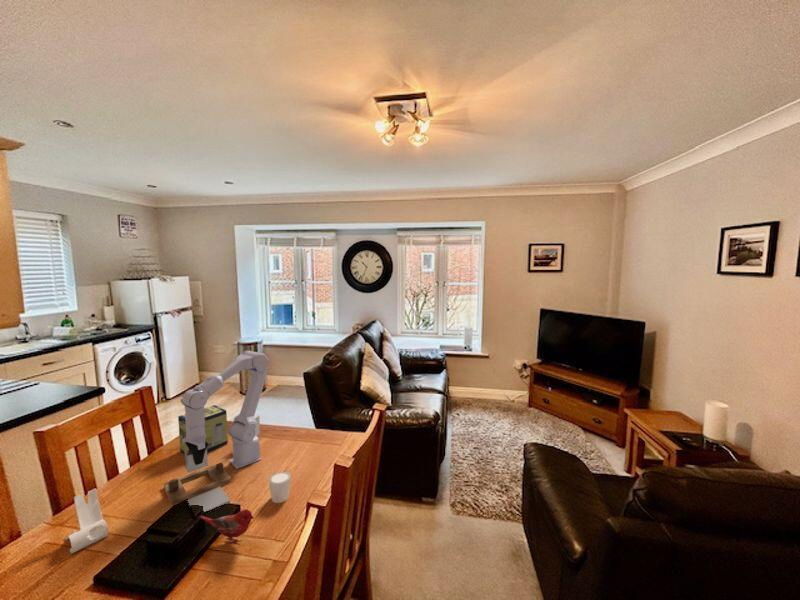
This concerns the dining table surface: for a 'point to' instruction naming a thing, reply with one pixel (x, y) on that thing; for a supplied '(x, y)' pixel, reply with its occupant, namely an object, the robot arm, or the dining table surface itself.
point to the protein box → (208, 428)
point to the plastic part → (88, 522)
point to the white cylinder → (279, 487)
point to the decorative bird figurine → (231, 524)
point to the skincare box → (257, 426)
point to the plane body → (179, 494)
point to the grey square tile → (210, 499)
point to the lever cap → (190, 462)
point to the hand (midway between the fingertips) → (197, 461)
